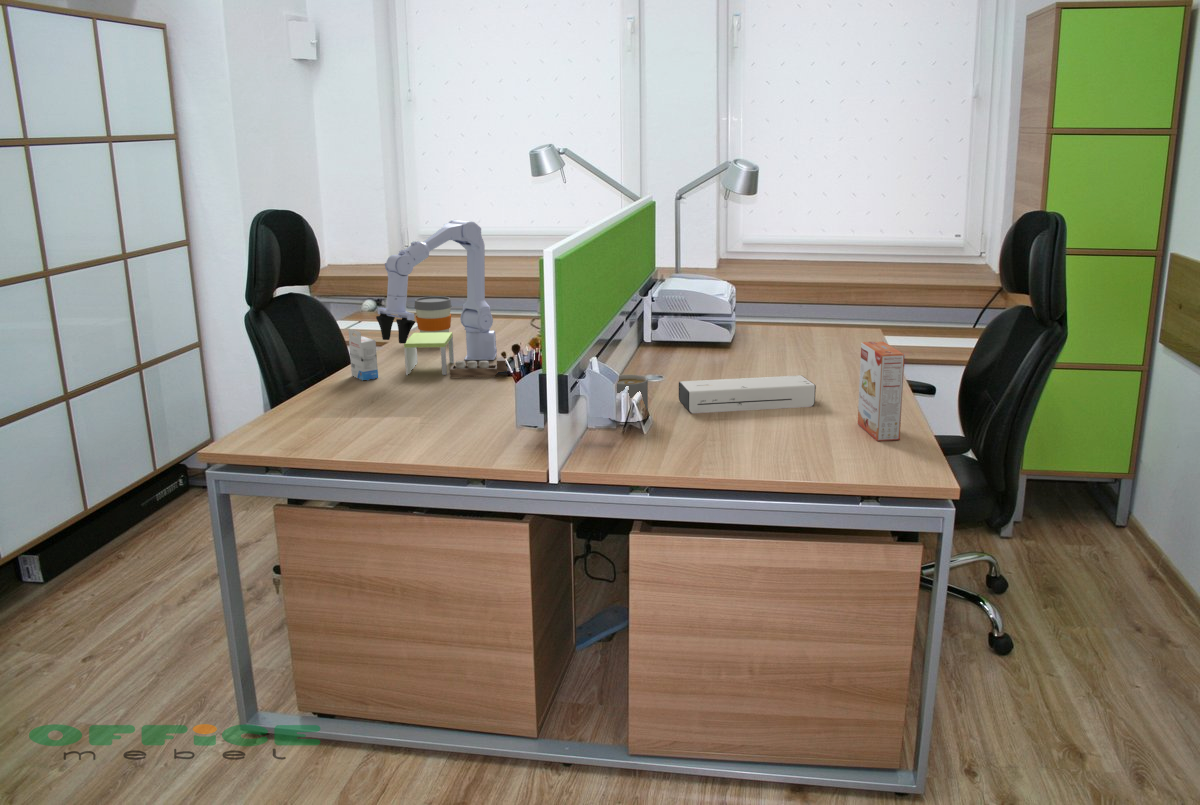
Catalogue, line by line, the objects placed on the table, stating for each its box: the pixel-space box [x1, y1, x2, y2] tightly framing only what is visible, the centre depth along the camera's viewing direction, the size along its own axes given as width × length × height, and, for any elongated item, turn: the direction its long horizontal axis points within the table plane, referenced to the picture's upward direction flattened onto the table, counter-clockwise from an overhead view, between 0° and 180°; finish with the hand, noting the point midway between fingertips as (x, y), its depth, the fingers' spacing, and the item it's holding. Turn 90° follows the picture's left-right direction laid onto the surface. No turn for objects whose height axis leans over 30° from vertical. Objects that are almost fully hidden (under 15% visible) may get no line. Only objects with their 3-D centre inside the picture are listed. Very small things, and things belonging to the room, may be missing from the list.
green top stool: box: [403, 331, 455, 376], centre depth 311 cm, size 12×16×10 cm
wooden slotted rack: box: [449, 356, 507, 378], centre depth 303 cm, size 17×5×5 cm, turn 90°
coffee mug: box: [617, 374, 649, 412], centre depth 256 cm, size 13×10×10 cm
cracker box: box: [857, 341, 906, 442], centre depth 240 cm, size 14×6×21 cm, turn 5°
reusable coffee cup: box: [414, 295, 452, 333], centre depth 348 cm, size 13×13×15 cm
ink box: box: [348, 328, 379, 381], centre depth 301 cm, size 8×5×15 cm, turn 39°
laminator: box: [678, 374, 817, 414], centre depth 268 cm, size 34×12×6 cm, turn 98°
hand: (394, 341), depth 302 cm, fingers open, 7 cm apart
